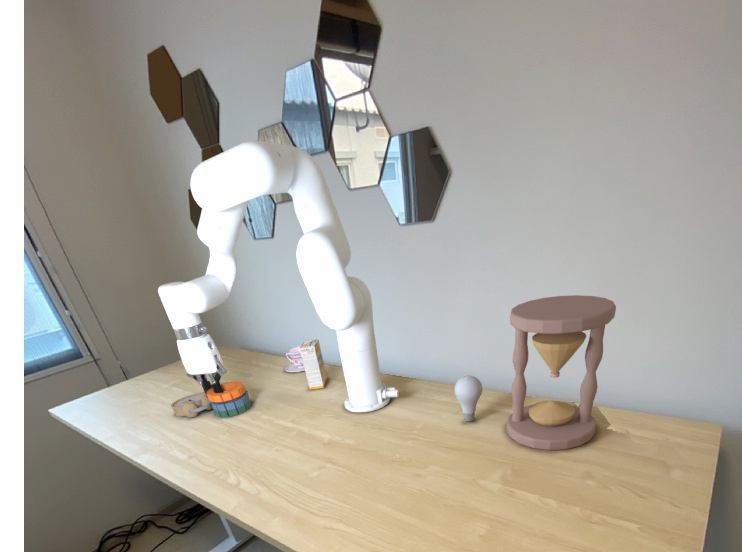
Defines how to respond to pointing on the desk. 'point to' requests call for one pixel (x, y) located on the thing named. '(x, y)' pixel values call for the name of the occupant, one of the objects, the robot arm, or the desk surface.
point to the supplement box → (313, 364)
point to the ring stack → (232, 406)
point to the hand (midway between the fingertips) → (215, 394)
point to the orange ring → (235, 391)
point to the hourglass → (557, 367)
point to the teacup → (294, 360)
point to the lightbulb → (468, 395)
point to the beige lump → (191, 405)
